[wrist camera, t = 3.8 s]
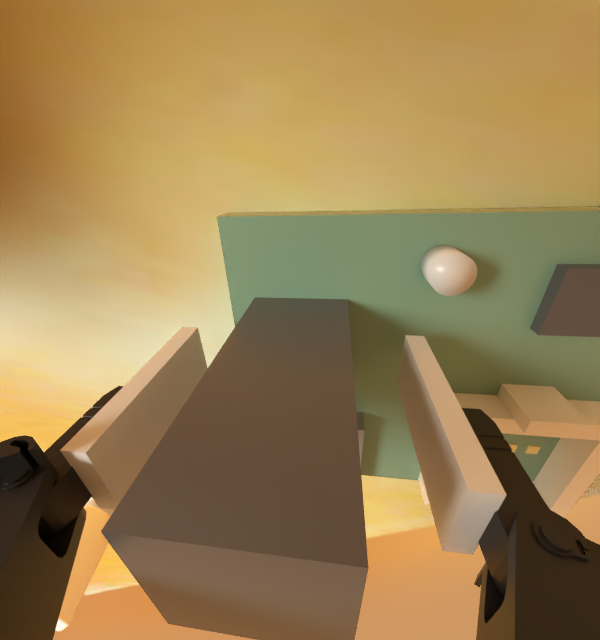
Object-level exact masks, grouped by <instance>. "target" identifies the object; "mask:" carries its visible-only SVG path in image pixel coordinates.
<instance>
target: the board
mask: <svg viewBox="0 0 600 640" xmlns="http://www.w3.org/2000/svg"><path fill="white" fill-rule="evenodd" d="M217 219H218V226H219V232H220V238H221V244H222V250H223V256H224V262H225V268H226V274H227V280H228V286H229V292H230V298H231V304H232V310H233V316H234V322H235V327H236V325H237V324H238V322H239V321H240V319H241V318H242V316H243V314H244V313H245V311H246V310H247V308H248V307H249V305H250V304H251V302H252V301H253V299H254V298H255V297H262V298H309V299H348V309H349V322H350V335H351V348H352V361H353V374H354V388H355V401H356V412H363V418H364V428H365V432H364V441H363V449H362V458H361V466H360V467H361V475H368V476H378V477H388V478H399V479H409V480H418V478H419V474H420V471H421V470H420V467H419V463H418V459H417V456H416V452H415V448H414V445H413V441H412V438H411V434H410V430H409V427H408V423H407V419H406V416H405V412H404V408H403V405H402V401H401V398H400V394H399V390H398V387H397V380H398V375H399V369H400V363H401V358H402V352H403V346H404V341H405V335H412V336H424V337H425V339H426V341H427V343H428V345H429V347H430V348H431V350H432V352H433V354H434V356H435V358H436V360H437V362H438V364H439V366H440V368H441V370H442V372H443V373H444V375H445V377H446V379H447V381H448V383H449V385H450V387H451V389H452V391H453V393H465V394H482V395H498V392H499V390H500V387H501V385H502V384H516V385H534V386H553V387H555V388H556V389H557V390H558V391H559V392H560V393H561V394H562V395H563V396H564V397H565V398H566V399H567V400H583V401H600V207H543V208H486V209H428V210H371V211H314V212H257V213H226V214H223V215H220V216H218V217H217ZM502 434H503V436H504V439H505V440H506V441H507V442H508V444H517V445H518V446H517V448H516V450H515V452H513V453H515V455H516V457H517V458H518V460H519V461H520V463H521V465H522V466H523V468H524V469H525V471H526V473H527V474H528V476H529V477H530V479H531V481H534V480H535V478H536V477H537V475H538V474H539V472H540V470H541V469H542V467H543V466H544V464H545V462H546V461H547V459H548V458H549V456H550V454H551V453H552V451H553V450H554V448H555V446H556V445H557V443H558V442H559V440H560V438H558V437H544V436H531V435H517V434H504V433H502ZM528 445H534V446H540V447H541V448H540V450H539V451H538V453H537V454H527V453H525V450H526V448H527V446H528Z"/></svg>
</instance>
